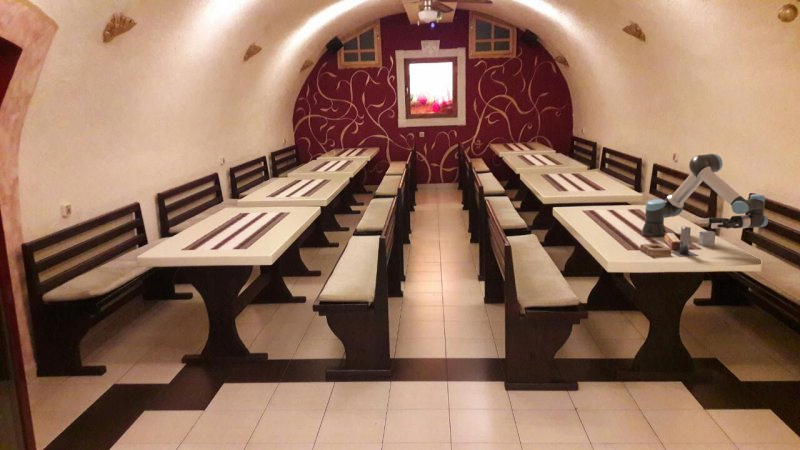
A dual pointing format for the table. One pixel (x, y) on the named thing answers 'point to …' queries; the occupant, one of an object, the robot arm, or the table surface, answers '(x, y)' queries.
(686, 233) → the pin
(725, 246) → the table surface
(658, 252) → the socket block
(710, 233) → the medicine box
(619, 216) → the table surface
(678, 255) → the mat
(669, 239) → the snack package
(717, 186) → the robot arm
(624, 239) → the table surface
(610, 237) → the table surface
